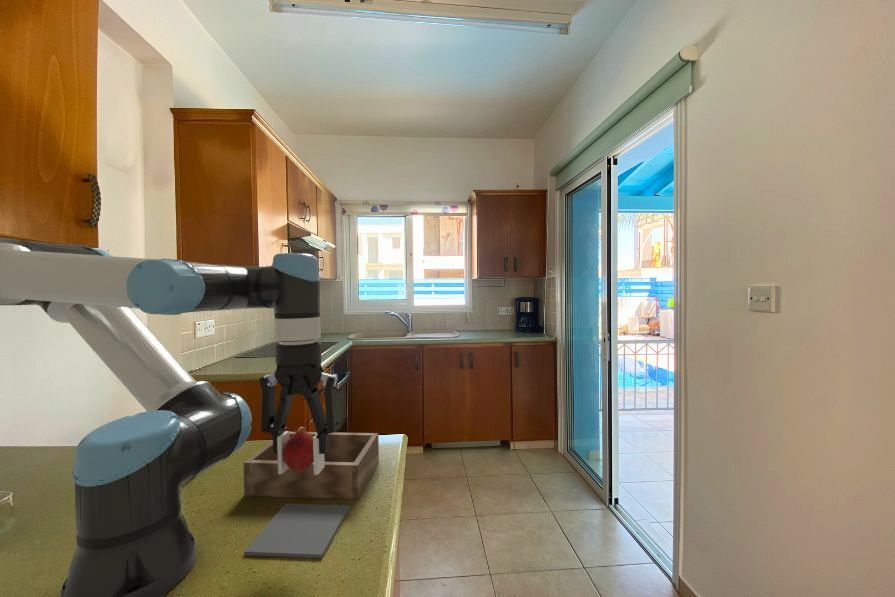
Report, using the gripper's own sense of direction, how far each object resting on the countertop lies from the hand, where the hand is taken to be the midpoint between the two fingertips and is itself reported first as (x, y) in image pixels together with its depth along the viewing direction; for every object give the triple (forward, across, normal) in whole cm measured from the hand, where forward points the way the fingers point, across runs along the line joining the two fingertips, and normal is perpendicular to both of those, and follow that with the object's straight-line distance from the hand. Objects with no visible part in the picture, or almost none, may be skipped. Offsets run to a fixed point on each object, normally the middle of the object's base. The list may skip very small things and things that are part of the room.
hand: (301, 470), depth 64 cm
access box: (+11, +5, -18) cm, 22 cm away
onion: (0, 0, 0) cm, 0 cm away
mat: (+11, 0, 0) cm, 11 cm away
